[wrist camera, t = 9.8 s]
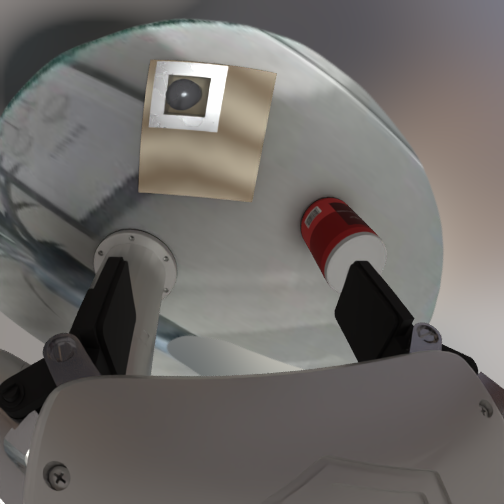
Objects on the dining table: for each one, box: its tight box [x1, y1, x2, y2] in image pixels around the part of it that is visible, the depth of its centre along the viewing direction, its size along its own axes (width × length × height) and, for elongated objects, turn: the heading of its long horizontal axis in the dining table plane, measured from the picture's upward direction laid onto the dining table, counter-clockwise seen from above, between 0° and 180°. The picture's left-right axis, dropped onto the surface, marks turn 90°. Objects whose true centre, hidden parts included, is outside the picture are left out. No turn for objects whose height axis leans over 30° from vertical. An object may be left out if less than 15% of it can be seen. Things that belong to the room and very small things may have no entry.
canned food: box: [301, 198, 387, 293], centre depth 35 cm, size 8×8×11 cm
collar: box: [149, 61, 228, 132], centre depth 26 cm, size 7×7×4 cm
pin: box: [166, 79, 203, 110], centre depth 24 cm, size 3×3×8 cm
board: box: [139, 60, 277, 202], centre depth 30 cm, size 16×14×1 cm
